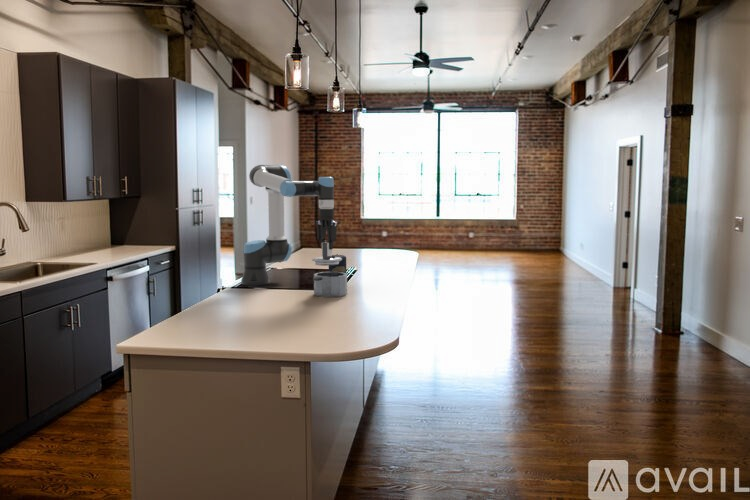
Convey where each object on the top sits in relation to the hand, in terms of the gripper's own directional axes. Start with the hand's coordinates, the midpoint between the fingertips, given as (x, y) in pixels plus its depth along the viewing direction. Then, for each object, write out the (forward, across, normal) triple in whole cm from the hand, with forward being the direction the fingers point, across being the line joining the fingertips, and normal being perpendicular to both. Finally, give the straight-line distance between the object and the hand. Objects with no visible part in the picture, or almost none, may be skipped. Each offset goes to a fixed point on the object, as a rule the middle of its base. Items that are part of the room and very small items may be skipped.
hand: (326, 255), depth 300 cm
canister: (+20, -10, +17) cm, 28 cm away
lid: (+4, 0, 0) cm, 4 cm away
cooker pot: (+20, +1, +2) cm, 20 cm away
